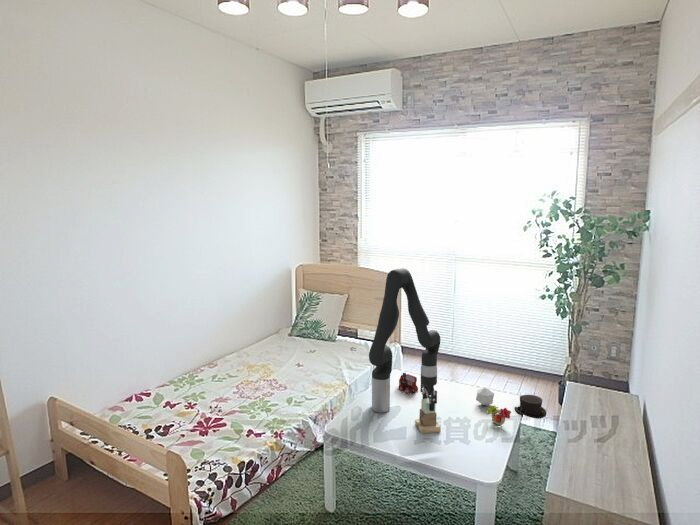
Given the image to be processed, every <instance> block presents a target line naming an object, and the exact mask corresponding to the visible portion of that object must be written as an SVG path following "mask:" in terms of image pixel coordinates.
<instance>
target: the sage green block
mask: <svg viewBox="0 0 700 525" xmlns="http://www.w3.org/2000/svg"><path fill="white" fill-rule="evenodd" d="M420 403H421V405H420V407H421V408H420V409H422V411H423V412H424V413H425V414H429V413H435V412H436V404H437V403H436V404H434V411H430V410H429V399H428V398H427V399H422V398H421V402H420Z"/></svg>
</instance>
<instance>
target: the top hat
mask: <svg viewBox="0 0 700 525" xmlns="http://www.w3.org/2000/svg"><path fill="white" fill-rule="evenodd" d="M521 394H522V393H519V395H520V396H519V406H515V407H514V410H515V411H516V412H517V413H518V414H521V415H523V416H525V417H529V418H531V419H537V420H539V419H544V418H545V417H546V416H547V410H546V409H545V408H544V407H542V404H543V399H542V398H541V397H540V396H538V395H534V394H523V395H521Z"/></svg>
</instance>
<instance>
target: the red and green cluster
mask: <svg viewBox="0 0 700 525" xmlns="http://www.w3.org/2000/svg"><path fill="white" fill-rule="evenodd" d="M486 412H487V413H486V415H489V414H490V413H491V421H492V422H493V423H494V424H496V425H497V426H502V425H504V424H505V422H506V419H510V418H511V414H512V411H511V410H508V409H507V407H504V408H500V409H499V406H496V405H490V407H488V408H486Z"/></svg>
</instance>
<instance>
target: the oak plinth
mask: <svg viewBox="0 0 700 525" xmlns="http://www.w3.org/2000/svg"><path fill="white" fill-rule="evenodd" d="M414 424H415V427H416V428H417V429H418V431H419V432H420V433H421V434H422V435H425V434H433V433H440V432H441V430H442V428H441V425H440V424H439V423H438V422H437V421H436V426H427V427H424V426H423V425H422V424H421V422H420V421H419V418H418V419H415V423H414Z"/></svg>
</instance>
